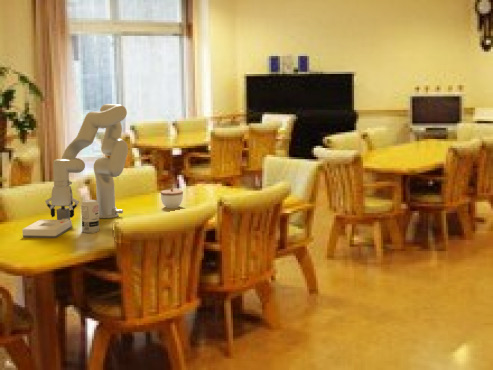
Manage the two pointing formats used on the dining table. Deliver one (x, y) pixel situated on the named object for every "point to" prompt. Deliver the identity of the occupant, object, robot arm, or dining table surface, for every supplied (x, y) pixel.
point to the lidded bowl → (172, 198)
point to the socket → (47, 228)
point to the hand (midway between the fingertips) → (62, 217)
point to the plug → (63, 213)
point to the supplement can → (90, 216)
